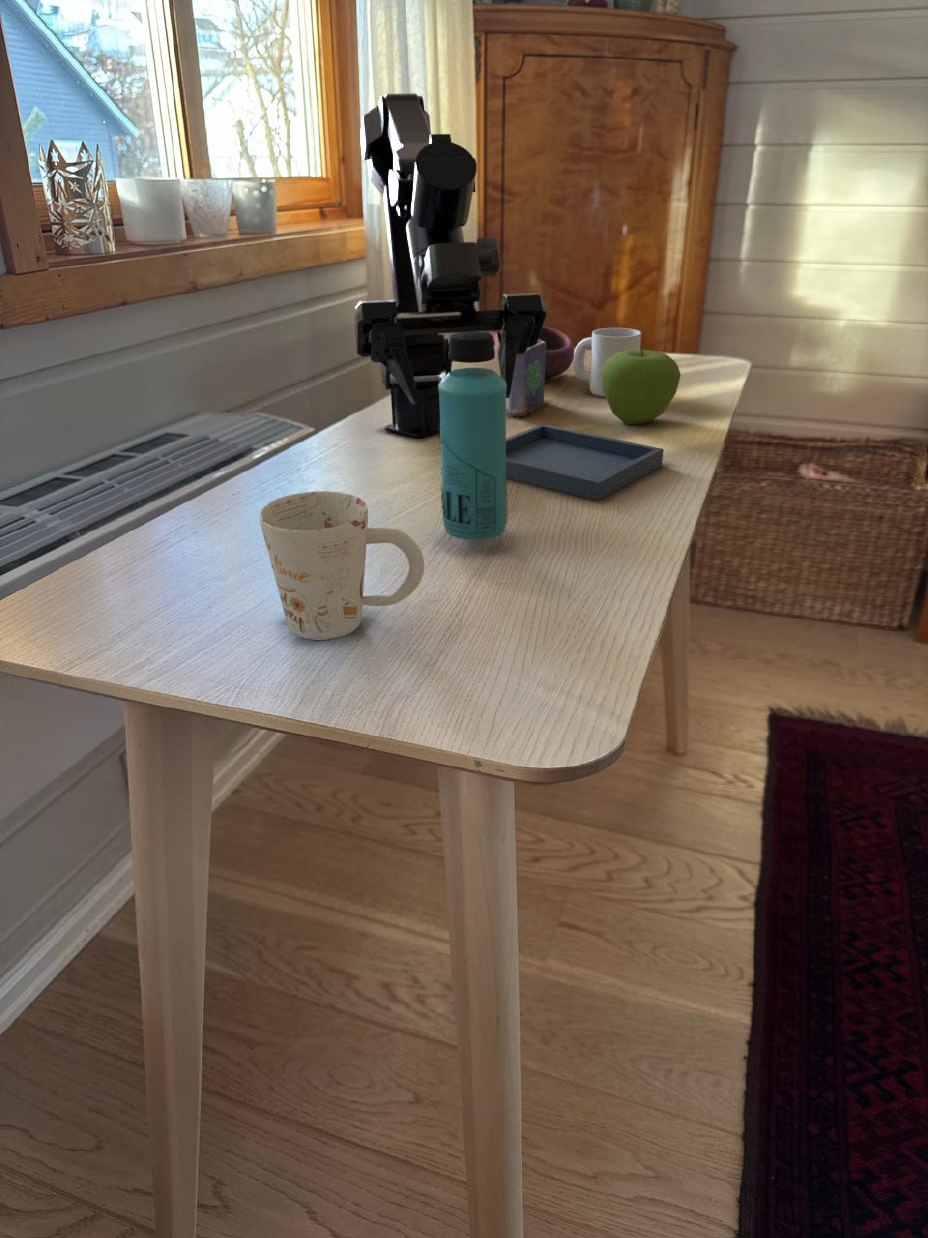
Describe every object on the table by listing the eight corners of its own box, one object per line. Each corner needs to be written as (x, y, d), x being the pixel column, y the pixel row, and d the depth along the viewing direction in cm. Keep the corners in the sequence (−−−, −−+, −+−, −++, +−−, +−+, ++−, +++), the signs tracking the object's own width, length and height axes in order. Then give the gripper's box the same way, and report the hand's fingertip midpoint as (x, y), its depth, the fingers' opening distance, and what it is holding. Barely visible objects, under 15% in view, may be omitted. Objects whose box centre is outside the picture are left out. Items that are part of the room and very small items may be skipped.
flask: (521, 418, 126) (522, 339, 121) (502, 415, 127) (502, 338, 122) (547, 402, 133) (549, 327, 128) (529, 400, 134) (531, 326, 129)
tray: (471, 469, 107) (471, 452, 106) (541, 439, 117) (541, 423, 116) (597, 501, 97) (598, 482, 96) (662, 465, 107) (663, 448, 106)
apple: (667, 435, 118) (675, 358, 113) (589, 428, 121) (593, 353, 116) (682, 413, 127) (689, 341, 122) (609, 407, 130) (613, 337, 125)
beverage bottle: (515, 532, 90) (518, 327, 81) (496, 559, 85) (496, 342, 75) (454, 525, 92) (449, 324, 82) (431, 551, 87) (423, 338, 77)
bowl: (583, 372, 149) (585, 322, 145) (559, 391, 138) (561, 338, 135) (493, 365, 154) (493, 317, 151) (464, 383, 144) (463, 331, 140)
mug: (279, 602, 78) (265, 493, 73) (424, 594, 78) (419, 486, 74) (269, 651, 70) (252, 533, 66) (428, 642, 71) (424, 525, 66)
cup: (631, 399, 133) (635, 338, 129) (566, 394, 137) (568, 334, 132) (641, 388, 139) (645, 328, 135) (578, 383, 143) (580, 325, 138)
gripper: (348, 209, 82) (367, 357, 78) (544, 203, 85) (573, 345, 81) (348, 287, 93) (365, 421, 89) (523, 279, 96) (548, 409, 92)
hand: (461, 398), depth 87 cm, fingers open, 9 cm apart
